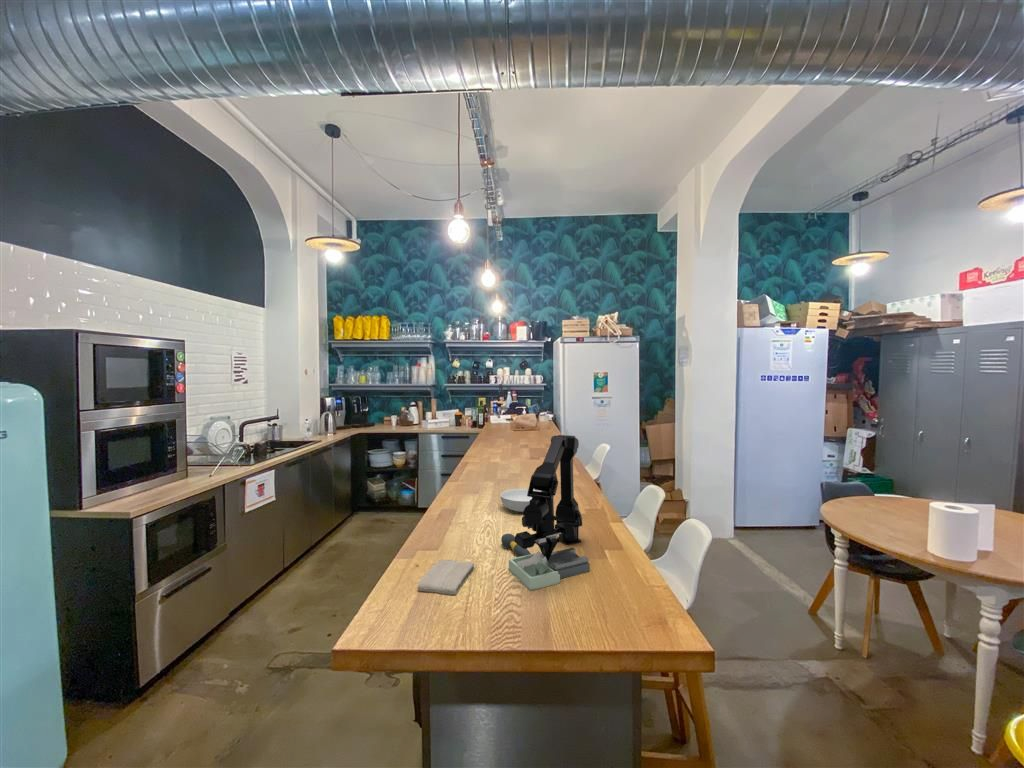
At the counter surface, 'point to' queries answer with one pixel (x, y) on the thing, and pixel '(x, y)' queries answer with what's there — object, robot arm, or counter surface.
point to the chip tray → (537, 581)
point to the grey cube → (540, 562)
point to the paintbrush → (513, 545)
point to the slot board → (568, 563)
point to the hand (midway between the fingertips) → (546, 561)
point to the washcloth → (446, 577)
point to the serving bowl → (516, 499)
